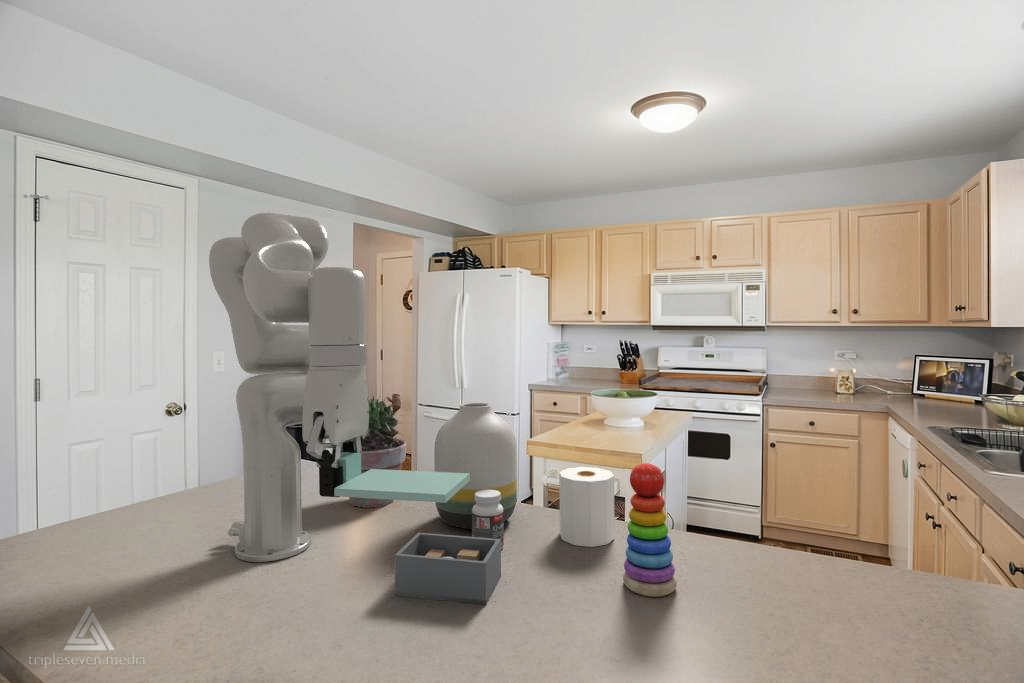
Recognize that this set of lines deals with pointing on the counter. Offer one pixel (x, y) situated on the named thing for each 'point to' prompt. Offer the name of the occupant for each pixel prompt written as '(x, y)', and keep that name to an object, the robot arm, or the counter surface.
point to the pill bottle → (488, 516)
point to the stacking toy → (648, 536)
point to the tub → (448, 568)
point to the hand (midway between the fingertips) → (340, 489)
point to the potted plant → (381, 445)
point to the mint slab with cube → (397, 482)
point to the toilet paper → (586, 506)
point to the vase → (476, 460)
